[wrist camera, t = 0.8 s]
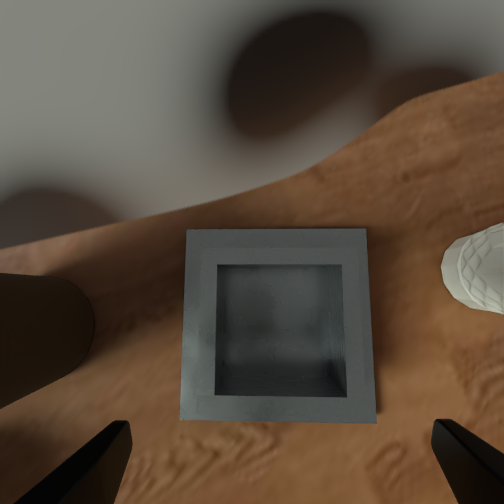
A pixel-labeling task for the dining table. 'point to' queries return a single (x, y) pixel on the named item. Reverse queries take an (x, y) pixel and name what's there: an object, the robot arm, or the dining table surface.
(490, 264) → the white cup
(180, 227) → the dining table surface
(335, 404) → the square open box
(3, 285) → the olive oil
